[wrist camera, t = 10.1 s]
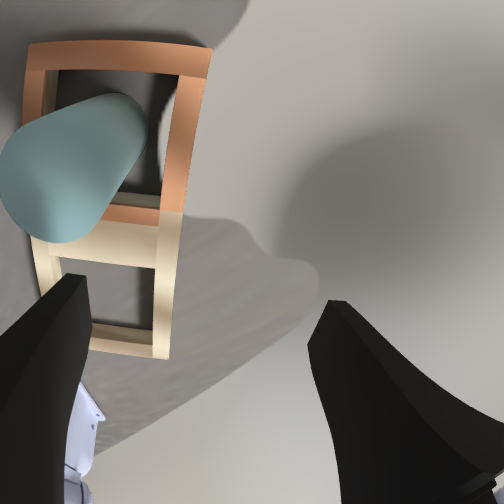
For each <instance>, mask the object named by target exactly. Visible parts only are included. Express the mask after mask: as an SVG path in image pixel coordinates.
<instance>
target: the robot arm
mask: <svg viewBox="0 0 504 504" xmlns="http://www.w3.org/2000/svg"><path fill="white" fill-rule="evenodd" d="M92 328H93V326H92V319H91V312H90V305H89V297H88V289H87V279H86V276H84V275H77V274H70V273H67V274H65V275H64V276H63V277H62V278H61V279H60V280H59V281H58V282H57V283H56V284H54V285H53V286H52V287H51V288H50V289H49V290H48V291H47V292H46V293H45V294H44V295H43V296H42V297H41V298H40V299H39V300H38V301H37V302H36V303H35V304H34V305H33V306H32V307H31V308H30V309H29V310H28V311H27V312H26V313H24V314H23V315H22V316H21V317H20V318H19V319H18V320H17V321H16V322H15V323H14V324H13V325H12V326H11V327H10V328H9V329H7V330H6V331H5V332H4V333H3V334H2V335H1V336H0V504H93V498H92V493H91V491H90V489H89V488H88V486H87V484H86V483H85V482H83V481H81V478H82V477H83V476H84V475H86V474H87V473H88V471H89V470H90V468H91V465H92V462H93V454H94V445H95V437H96V430H97V423H98V421H105V416H104V415H103V413H102V412H101V411H100V409H99V408H98V406H97V405H96V404H95V402H94V401H93V399H92V398H91V396H90V395H89V394H88V392H87V391H86V389H85V388H84V386H83V385H82V383H81V382H80V380H81V376H82V372H83V369H84V366H85V362H86V359H87V354H88V349H89V344H90V338H91V333H92ZM307 345H308V352H309V359H310V364H311V370H312V373H313V377H314V381H315V384H316V387H317V390H318V393H319V397H320V400H321V403H322V406H323V409H324V412H325V415H326V418H327V421H328V425H329V428H330V432H331V435H332V439H333V444H334V449H335V455H336V460H337V466H338V474H339V482H340V492H341V504H504V486H503V487H501V488H500V489H499V490H497V491H495V492H494V493H493V491H492V488H494V487H495V486H496V485H497V484H496V481H495V479H494V478H496V477H497V476H499V475H500V474H502V473H503V472H504V423H502V422H500V421H497V420H495V419H493V418H491V417H489V416H487V415H485V414H483V413H481V412H479V411H477V410H476V409H474V408H472V407H470V406H469V405H467V404H465V403H464V402H462V401H461V400H459V399H458V398H456V397H454V396H453V395H451V394H450V393H449V392H447V391H446V390H444V389H443V388H441V387H440V386H439V385H437V384H436V383H435V382H434V381H432V380H431V379H430V378H428V377H427V376H426V375H425V374H424V373H422V372H421V371H420V370H419V369H418V368H416V367H415V366H414V365H413V364H412V363H411V362H410V361H408V360H407V359H406V358H405V357H404V356H403V355H402V354H401V353H400V352H399V351H398V350H396V349H395V348H394V347H393V346H392V345H391V344H390V343H389V342H388V341H387V340H386V339H385V338H384V337H383V336H382V335H381V334H380V333H379V332H378V331H377V330H376V329H375V328H374V327H373V326H372V325H371V324H370V323H369V322H368V321H367V320H366V319H365V318H364V317H363V316H362V315H360V314H359V313H358V312H357V311H356V310H355V309H354V308H353V307H352V306H351V305H350V304H348V303H347V302H346V301H337V300H328V302H327V304H326V307H325V309H324V311H323V313H322V315H321V318H320V319H319V321H318V324H317V326H316V328H315V330H314V332H313V334H312V336H311V338H310V340H309V342H308V344H307Z"/></svg>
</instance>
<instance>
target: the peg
mask: <svg viewBox="0 0 504 504" xmlns="http://www.w3.org/2000/svg"><path fill="white" fill-rule="evenodd" d="M148 136H149V125H148V120H147V116H146V114H145V112H144V110H143V109H142V107H141V106H140V105H139V104H138V103H137V102H136V101H135V100H134V99H132V98H131V97H129V96H127V95H124V94H120V93H105V94H102V95H98V96H95V97H92V98H90V99H87V100H84V101H81V102H78V103H76V104H73V105H70V106H68V107H65V108H62V109H60V110H57V111H55V112H52V113H50V114H48V115H45V116H43V117H40V118H38V119H36V120H34V121H31V122H29V123H27V124H25V125H24V126H22V127H20V128H19V129H18V130H17V131H15V132H14V134H13V135H12V136H11V137H10V138H9V140H8V141H7V142H6V144H5V146H4V148H3V150H2V153H1V155H0V196H1V199H2V202H3V204H4V207H5V209H6V210H7V212H8V214H9V215H10V217H11V218H12V219H13V221H14V222H15V223H16V224H17V225H18V226H19V227H20V228H21V229H22V230H24V231H25V232H26V233H28V234H29V235H31V236H33V237H35V238H37V239H39V240H42V241H46V242H50V243H67V242H72V241H75V240H77V239H79V238H81V237H83V236H85V235H86V234H88V233H89V232H90V231H91V230H92V229H93V228H94V227H95V226H96V224H97V223H98V222H99V220H100V218H101V217H102V215H103V213H104V212H105V210H106V208H107V206H108V205H109V203H110V201H111V200H112V198H113V197H114V195H115V193H116V192H117V190H118V188H119V187H120V185H121V184H122V182H123V180H124V179H125V177H126V176H127V174H128V173H129V171H130V170H131V168H132V167H133V165H134V164H135V162H136V161H137V159H138V158H139V156H140V155H141V153H142V152H143V150H144V148H145V146H146V144H147V141H148Z"/></svg>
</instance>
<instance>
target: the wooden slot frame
mask: <svg viewBox="0 0 504 504" xmlns="http://www.w3.org/2000/svg"><path fill="white" fill-rule="evenodd" d="M212 51H213V49H210V48H204V47H196V46H189V45H180V44H171V43H160V42H147V41H128V40H74V41H56V42H43V43H33V44H29V49H28V55H27V63H26V71H25V80H24V91H23V106H22V126H24V125H25V124H27V123H29V122H31V121H34V120H36V119H38V118H40V117H43V116H45V115H48V114H50V113H52V112H55V105H56V94H57V84H58V75H59V70H69V69H97V70H125V71H141V72H153V73H164V74H173V75H179V81H178V86H177V91H176V97H175V103H174V108H173V114H172V120H171V127H170V132H169V139H168V146H167V153H166V160H165V168H164V176H163V184H162V193H161V196H154V195H146V194H137V193H127V192H118V191H117V192H116V193H115V195H114V197H113V198H112V200H111V201H110V203H109V205H108V206H107V208H106V210H105V212H104V213H103V215H102V217H101V218H100V220H99V222H98V223H97V224H96V226H95V227H94V228H93V229H92V230H91V231H90V232H89V233H88V234H86V235H85V236H83V237H81V238H79V239H77V240H75V241H72V242H67V243H50V242H46V241H42V240H39V239H37V238H35V237H33V236H31V242H32V249H33V255H34V261H35V267H36V272H37V277H38V282H39V287H40V291H41V296H43V295H44V294H45V293H46V292H47V291H48V290H49V289H50V288H51V287H52V286H53V285H54V284H56V283H57V282H58V281H59V280H60V279H61V278H62V274H61V267H60V260H59V256H60V257H67V258H75V259H82V260H90V261H98V262H105V263H113V264H121V265H129V266H138V267H146V268H154V269H155V284H154V308H153V331H151V330H143V329H134V328H126V327H119V326H112V325H105V324H98V323H92V326H93V328H92V333H91V338H90V344H89V349H91V350H97V351H104V352H110V353H117V354H125V355H132V356H140V357H149V358H158V359H168V360H169V346H170V332H171V319H172V307H173V296H174V285H175V275H176V266H177V257H178V248H179V240H180V232H181V224H182V216H183V209H184V202H185V195H186V187H187V182H188V175H189V169H190V163H191V157H192V151H193V145H194V139H195V133H196V128H197V123H198V117H199V112H200V106H201V102H202V96H203V92H204V87H205V82H206V77H207V73H208V68H209V64H210V59H211V55H212Z"/></svg>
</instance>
